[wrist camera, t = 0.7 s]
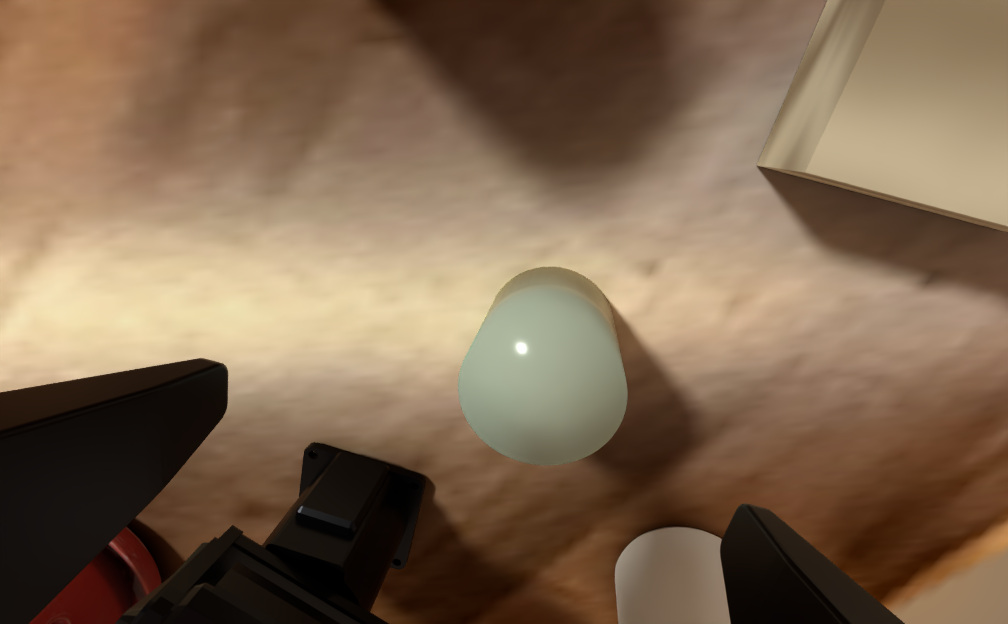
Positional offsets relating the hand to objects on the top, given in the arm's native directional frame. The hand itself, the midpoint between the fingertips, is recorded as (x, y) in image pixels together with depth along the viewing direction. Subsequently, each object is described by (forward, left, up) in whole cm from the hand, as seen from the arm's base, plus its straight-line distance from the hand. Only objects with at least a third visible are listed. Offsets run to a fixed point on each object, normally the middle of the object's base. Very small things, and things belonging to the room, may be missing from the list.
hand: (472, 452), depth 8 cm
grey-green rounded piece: (-3, -1, -13) cm, 13 cm away
